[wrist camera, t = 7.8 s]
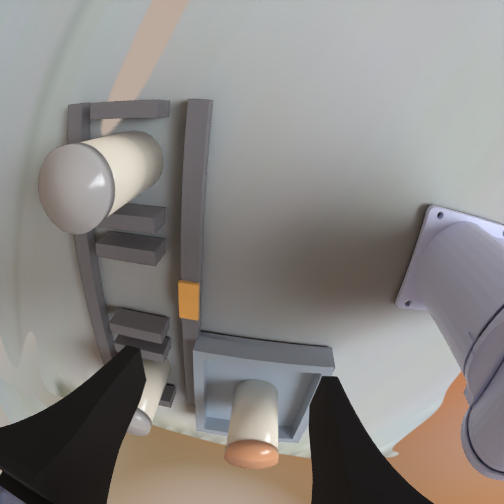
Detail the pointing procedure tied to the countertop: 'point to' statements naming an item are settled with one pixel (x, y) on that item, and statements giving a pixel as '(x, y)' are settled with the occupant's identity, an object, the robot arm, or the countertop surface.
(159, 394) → the fuse
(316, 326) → the countertop surface
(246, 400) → the cylinder
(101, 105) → the clip rail
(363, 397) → the countertop surface
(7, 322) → the countertop surface
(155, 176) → the cream capsule cylinder
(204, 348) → the tray
